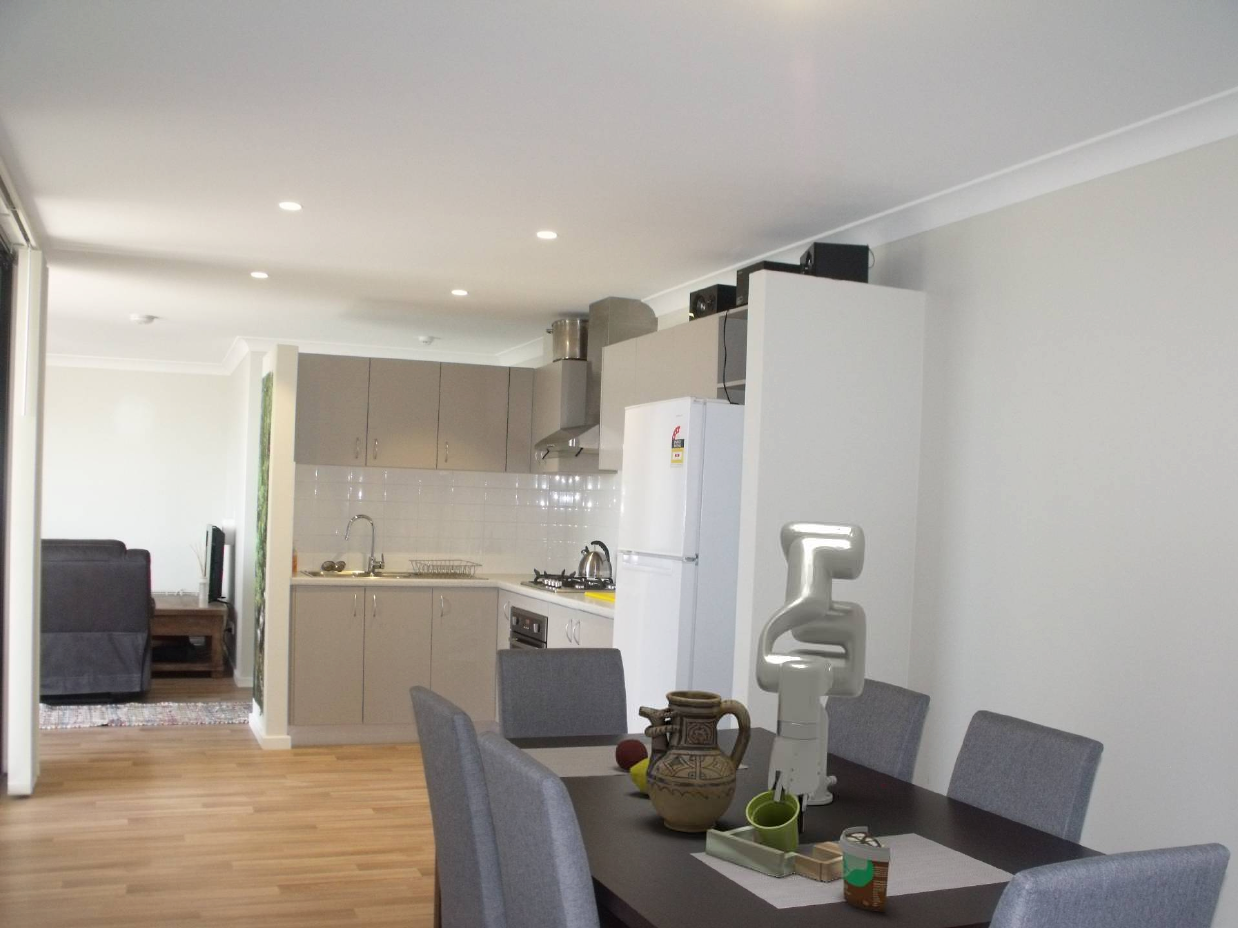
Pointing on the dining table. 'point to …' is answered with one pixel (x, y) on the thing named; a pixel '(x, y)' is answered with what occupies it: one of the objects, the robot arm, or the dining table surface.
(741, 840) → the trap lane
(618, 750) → the dark red ball
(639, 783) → the lemon
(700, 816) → the decorative pitcher
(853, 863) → the food container
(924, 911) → the dining table surface
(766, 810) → the plant pot
